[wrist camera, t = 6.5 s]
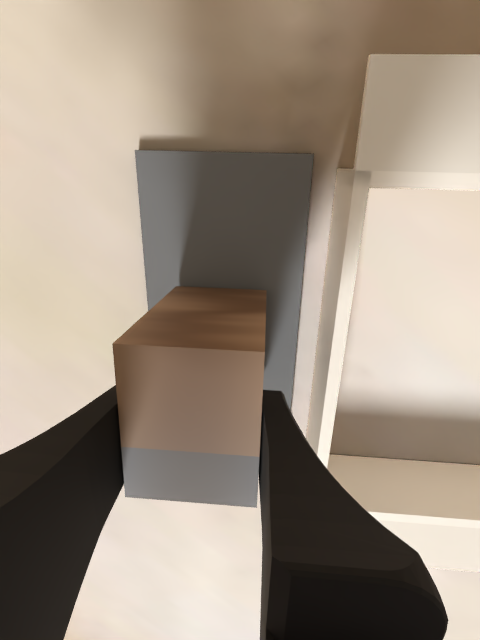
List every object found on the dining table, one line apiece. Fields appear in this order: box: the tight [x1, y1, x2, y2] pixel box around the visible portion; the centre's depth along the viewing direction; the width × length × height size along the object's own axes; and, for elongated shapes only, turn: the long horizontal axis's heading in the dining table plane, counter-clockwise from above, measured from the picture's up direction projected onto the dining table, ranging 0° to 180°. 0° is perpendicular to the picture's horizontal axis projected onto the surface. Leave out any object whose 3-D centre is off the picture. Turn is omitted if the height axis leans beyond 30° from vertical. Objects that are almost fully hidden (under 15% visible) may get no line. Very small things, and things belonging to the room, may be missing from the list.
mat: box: [135, 150, 314, 411], centre depth 18 cm, size 7×16×1 cm, turn 179°
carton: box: [306, 54, 480, 573], centre depth 16 cm, size 13×21×4 cm, turn 179°
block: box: [113, 286, 267, 508], centre depth 14 cm, size 4×5×7 cm
